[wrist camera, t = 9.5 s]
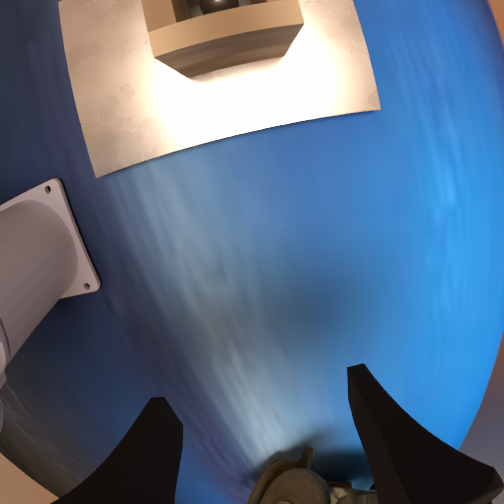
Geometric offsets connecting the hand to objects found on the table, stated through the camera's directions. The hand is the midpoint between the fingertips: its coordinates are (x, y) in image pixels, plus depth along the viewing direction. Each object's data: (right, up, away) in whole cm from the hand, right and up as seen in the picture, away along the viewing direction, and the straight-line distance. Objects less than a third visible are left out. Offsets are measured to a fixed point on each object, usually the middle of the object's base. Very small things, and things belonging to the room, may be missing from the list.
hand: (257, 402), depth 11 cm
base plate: (-3, +17, +3) cm, 18 cm away
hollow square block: (-2, +17, +2) cm, 17 cm away
